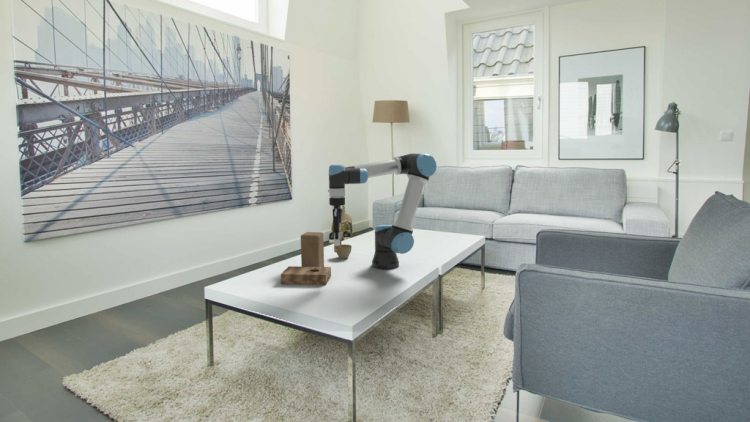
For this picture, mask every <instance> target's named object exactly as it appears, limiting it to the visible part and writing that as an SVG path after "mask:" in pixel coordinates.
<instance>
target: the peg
mask: <svg viewBox="0 0 750 422" xmlns="http://www.w3.org/2000/svg"><path fill="white" fill-rule="evenodd" d="M341 229H342V228H341V223H339V232H340V246H334V245H333V252H334V253H336V254H337V253H339V252H342V247H341V245H342V230H341Z"/></svg>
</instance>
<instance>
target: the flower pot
mask: <svg viewBox="0 0 750 422" xmlns="http://www.w3.org/2000/svg"><path fill="white" fill-rule="evenodd" d="M341 247H342V252H339V253H336V255H337V256H338V258H339V259H340V258H341V259H340V260H346V259H348V258H349V257H350V256H351V255H350V254H351V252H352V250H353V249H352V248H353V247H352V245H351V244H345V243H344V244H342V243H341Z"/></svg>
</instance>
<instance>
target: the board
mask: <svg viewBox="0 0 750 422" xmlns="http://www.w3.org/2000/svg"><path fill="white" fill-rule="evenodd" d="M331 277H332V267H331V266H324V267H302V266H297V265H296V266H290V265H289V266H288V267H287V268H286V269H284V271H282V272H281V274H280V280H281V283H280V284H281V285H300V286H301V285H307V286H312V285H313V286H317V285H318V286H327V284H328V282H329V281H330V279H331Z"/></svg>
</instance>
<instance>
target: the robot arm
mask: <svg viewBox="0 0 750 422" xmlns="http://www.w3.org/2000/svg"><path fill="white" fill-rule="evenodd" d="M436 171H437V161H436V159H435V158H434V156H433V155H431V154H429V153H425V152H424V153H415V152H414V153H408V154H403V155H400V156H396V157H395V156H394V157H393V158H391V159H387V160H383V161H382V160H381V161H375V162H369V163H364V164H358V165H356V164H355V165H352V166H345V165H344V164H330V165H329V166H328V188H329V189H328V190H327V193H329V199H328V200H329V201H328V203H329V206H333V209H332V228H333V230H332V231H331V232H332V233H333V247H334V246H340V232H339V223H341V231H343V226H342V224H343V223H342V211H343V209H342V208H341V206H345V205H346V198H345V196H346V187H345V186H346V185H361V184H366V183H367V182H368V179H369V178H374V177H380V176H386V175H392V174H394V175H397V176H398V175H406V176H407V178H408V181H407V185H406V188H405V191H404V195H403V197H402V200H401V205H400V206H399V207H400V208H399V211H398V214H397V217H396V220H395V222H394V223H392V224H381V225H379V224H378V225H376V226H375V227H374V255H373V257H372V262H371V265H372V267H373V268H374V269H375V268H376V269H379V270H391V269H396V268H399V266H400V261H399V257H398V254H400V255H403V254H407V253H409V252H410V251H411V250H412V249H413V247H414V244H415V239H414V236H413V234H414V230H413V228H412V227H413V223H414V220H415V217H416V213H417V210H418V205H419V203H420V200H421V196H422V193H423V189H424V186H425V184H426V183H428V182H429V179H430V177H432V176H434V174H435V173H436Z"/></svg>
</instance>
